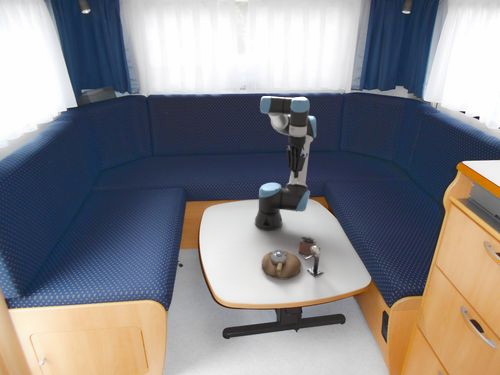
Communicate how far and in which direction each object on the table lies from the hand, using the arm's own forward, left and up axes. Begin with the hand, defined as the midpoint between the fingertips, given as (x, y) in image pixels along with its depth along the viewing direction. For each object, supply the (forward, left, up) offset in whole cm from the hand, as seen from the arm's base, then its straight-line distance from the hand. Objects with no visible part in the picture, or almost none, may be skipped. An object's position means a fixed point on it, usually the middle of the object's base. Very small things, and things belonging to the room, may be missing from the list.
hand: (293, 183), depth 161 cm
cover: (+11, -15, -32) cm, 37 cm away
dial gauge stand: (+23, -5, -34) cm, 42 cm away
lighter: (+11, +2, -35) cm, 36 cm away
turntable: (+12, -14, -34) cm, 39 cm away
